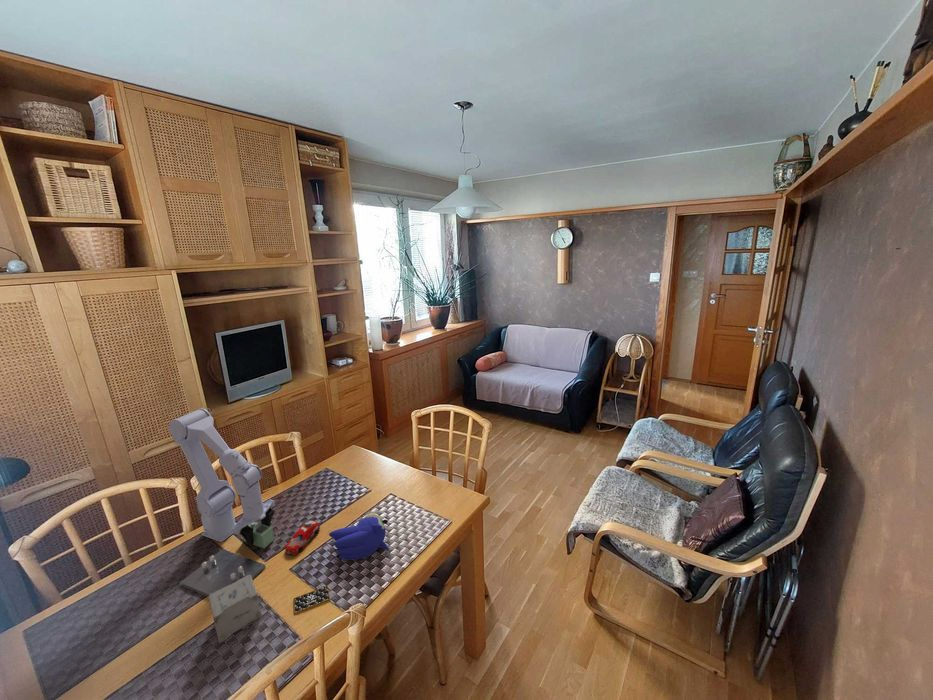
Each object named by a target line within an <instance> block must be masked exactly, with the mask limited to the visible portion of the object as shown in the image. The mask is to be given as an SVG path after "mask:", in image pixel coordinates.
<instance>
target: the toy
mask: <svg viewBox="0 0 933 700" xmlns="http://www.w3.org/2000/svg"><path fill="white" fill-rule="evenodd" d="M386 524H388V520H387V519H381V517H380V516H379V514H376V513H374V512H370V513H367V514H366V515H365V516H364V517H363V518H362V519H360V521H358V523H357V524H356V525H354V526H348V527H343V528H338V529H335V530H332V531H330V532H329V533H328V536H329V537H331V538H333V540H334V543H333V545H334V546H335V548H336V549H337V551H336V552H337V553H338V554H339V555H338V558H339V559H341V560H346V561H347V560H348V561H349V560H351V561H352V560H353V561H354V560H361V559H365V558H367V557H370V556H371V555H372V554H374V553H375V552H376V550H377V549H378V548H380V549H382V550H386V551H387V550H388V551H389V550H390V548H389V546H388V545H387V543H386V542H384V540H385V538H386V534H387V530H386Z"/></svg>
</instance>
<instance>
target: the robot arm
mask: <svg viewBox="0 0 933 700" xmlns="http://www.w3.org/2000/svg"><path fill="white" fill-rule="evenodd" d="M214 421H215V420H214V417H213V416H212V415H211V413H210V412H209V411H208V410H207V409H205V408H202V407H200V408H197V409H196V410H194V411H191V412H189V413H186V414H184V415H183V416H180V417H177V418H174V419H172V420H170V423H169V425H168V428H167V429H168V430H169V433H170V436H171V437H172V439H173V441H174V443H175V445H179V446H180V448H181V450H182V452H183V455H184V457H185V459H186V460H187V463H188V465H189V466H190V468H191V471H192V473H193V475H194V477H195V478H196V481H197V482H198V485H199V487H200V490H199V491H198V493H197V495H196V497H195V501H196V503H197V504H196V505H197V510H198V512H199V514H200V519H201V523H202V527H203V531H204V532H202V533H201V535H202V537H206V538H208V539H211V540H214V541H217V542H220V543H221V542H224V541H225V540H226V539H227V538H229V537H230V536H232V535H233V534H234V535H239V534H240V535H241V536H242V538H243V537H244V539H245V540H246V542H245V543H246V544H247V545H250V546H253V544H254V540H253V530H254V529H253V528H250V526H248V525H249V524H251V523H253V522H257V521H260V524H263V525H266V526H269V527H271V524H272V523H271V521H272V518H273V516H274V514H275V510H274V509H272V508H273V507H275V506H276V502H275V500H274V499H270V498H269V499H268V500H266V501H265V502H263V497H262V491H261V486H260V480H261V479H262V478H263V472H262V470H261V468H260V467H259V466H258V465H257V464H253V462H250V461H249V462H248V460H246V458H245V457H244V456H243V455H242V454H241V453H240V452H239V451H238V450H237V449H234V448H230V447H229V446H228V444H227V443H226V442H225V440H224V439H223V437H222V436H221V435H220V433H219V432H218V430H217V429H216V428H215V426H214V425H215V422H214ZM201 441H202V442H203V444H205V445H206V446H207V447H208V448H209V449H210V450H211V451H213V453H215V454H216V455H217V456H218V464H220V465H221V467H222V468H223V469H224V470H225V471H226V472H227V473H228V475H230V477H231V478H232V481H231V482H232V485H233V486H232V485H231V484H230V483H229V481H228V480H221V479H219V477H218V475H217V472H216V470H215V469H214V466H213V464H212V463H211V460H210V458H209V456H208V455H207V452H206V450H205V448H204V446H203V444H202V442H201ZM237 494H238V495H239V498H240V503H241V509H242V513H243V516H242V517H241V518H240V519H239V520H238V521H237V522H236V519H235V515H234V510H233V505H234V501H235V500H236V498H237ZM244 539H243V540H244Z"/></svg>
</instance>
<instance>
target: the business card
mask: <svg viewBox="0 0 933 700" xmlns="http://www.w3.org/2000/svg"><path fill="white" fill-rule="evenodd" d="M330 601H331V598H330V590H329V585H325V586H322V587H320V588H317V589H314V590H312V591H310V592H306V593H303V594H301V595H298V596H296V597H293V614H294V615H297V614H300V613H302V612H305V611H307V610H310V609H312V608H315V607H318V606H320V605H322V604H325V603H327V602H330Z"/></svg>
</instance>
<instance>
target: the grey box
mask: <svg viewBox="0 0 933 700" xmlns="http://www.w3.org/2000/svg"><path fill="white" fill-rule="evenodd" d="M259 598H260V597H259V595H258V592H257V589H256V586H255V584H254V580H253V579H252V577H251V575H248V576H246V577H244V578H242V579H240V580H238V581H236V582H234V583H232V584H230V585H228V586H226V587H224V588H222V589H220V590H218V591H216V592H214V593H212V594H210V595H209V597H208V603H209V606H210V610H211V611H210V612H211V614H212V620H213V623H214V626H215V629H216V634H217V640H218V644H221V643H224V641H227V639H229V638H230V636H231V635H233V634H234V633H235V632H237V631H239V630H240V629H242V628H244V627H245V626H247V625H248V624H250V623H252V622H256V621H257V620H259V619H260V618H261V617H262V616H263V615H262V611H261V607H260V602H259V601H260V600H259Z"/></svg>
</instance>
